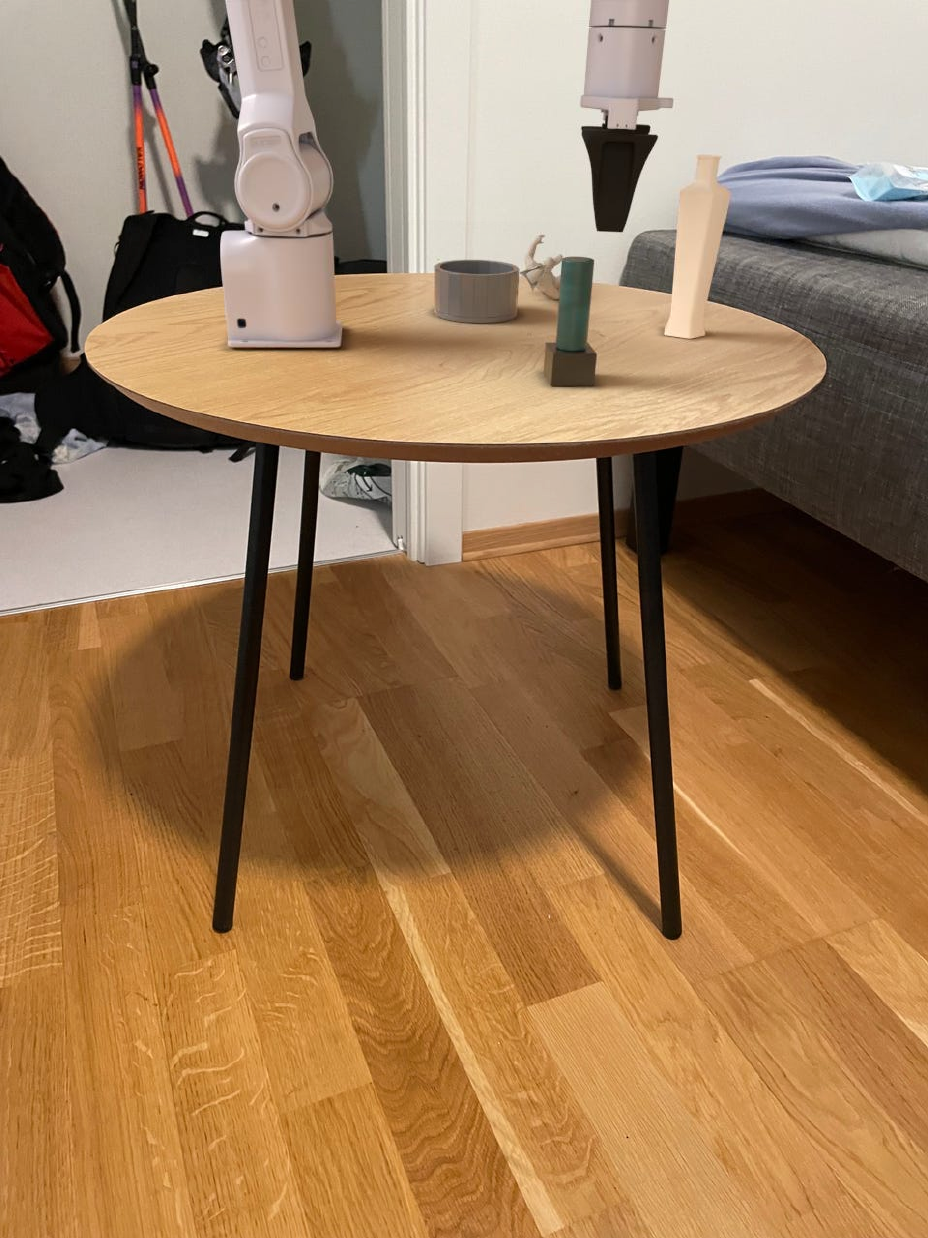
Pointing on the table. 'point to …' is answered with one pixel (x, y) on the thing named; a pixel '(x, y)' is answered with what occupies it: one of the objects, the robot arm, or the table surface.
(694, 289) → the peach faceted vase
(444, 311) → the low gray pot
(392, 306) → the table surface
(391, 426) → the table surface
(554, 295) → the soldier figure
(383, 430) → the table surface
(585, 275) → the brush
